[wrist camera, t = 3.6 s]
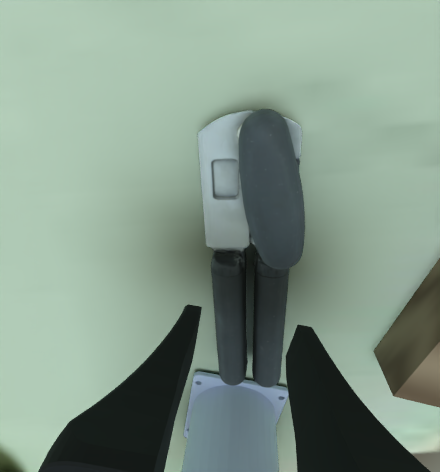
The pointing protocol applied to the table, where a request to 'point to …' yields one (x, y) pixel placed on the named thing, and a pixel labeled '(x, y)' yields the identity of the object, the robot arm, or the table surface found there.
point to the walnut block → (415, 346)
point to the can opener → (251, 232)
